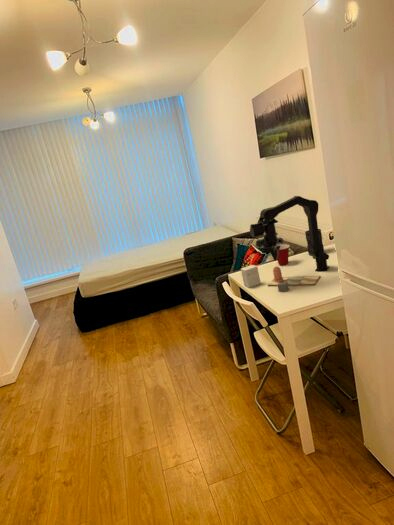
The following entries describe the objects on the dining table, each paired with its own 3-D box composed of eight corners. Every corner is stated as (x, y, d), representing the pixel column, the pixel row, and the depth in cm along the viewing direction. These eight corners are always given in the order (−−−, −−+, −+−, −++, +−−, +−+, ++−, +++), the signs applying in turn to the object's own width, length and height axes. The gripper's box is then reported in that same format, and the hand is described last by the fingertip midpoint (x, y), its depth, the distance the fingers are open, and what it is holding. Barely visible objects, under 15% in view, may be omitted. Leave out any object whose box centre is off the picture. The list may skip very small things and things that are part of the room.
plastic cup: (293, 265, 236) (290, 246, 233) (275, 268, 238) (272, 249, 235) (292, 260, 246) (289, 242, 243) (275, 263, 248) (271, 245, 245)
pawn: (276, 279, 216) (273, 265, 214) (284, 279, 213) (281, 265, 211) (273, 282, 212) (270, 268, 210) (281, 282, 209) (278, 268, 207)
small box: (256, 281, 222) (252, 264, 220) (261, 283, 217) (257, 266, 215) (244, 286, 220) (240, 268, 217) (248, 288, 215) (245, 270, 212)
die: (281, 289, 202) (280, 281, 201) (288, 288, 200) (287, 281, 199) (278, 292, 199) (277, 284, 198) (286, 291, 197) (284, 284, 196)
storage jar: (308, 252, 254) (305, 230, 251) (324, 250, 251) (321, 227, 247) (308, 256, 245) (304, 234, 242) (324, 254, 242) (320, 231, 238)
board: (275, 278, 220) (275, 277, 220) (320, 276, 206) (320, 275, 206) (267, 286, 210) (267, 285, 210) (314, 285, 196) (314, 283, 196)
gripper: (261, 229, 217) (266, 256, 221) (250, 239, 201) (255, 267, 205) (281, 227, 211) (285, 254, 215) (270, 236, 196) (276, 265, 199)
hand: (275, 260), depth 209 cm, fingers closed
